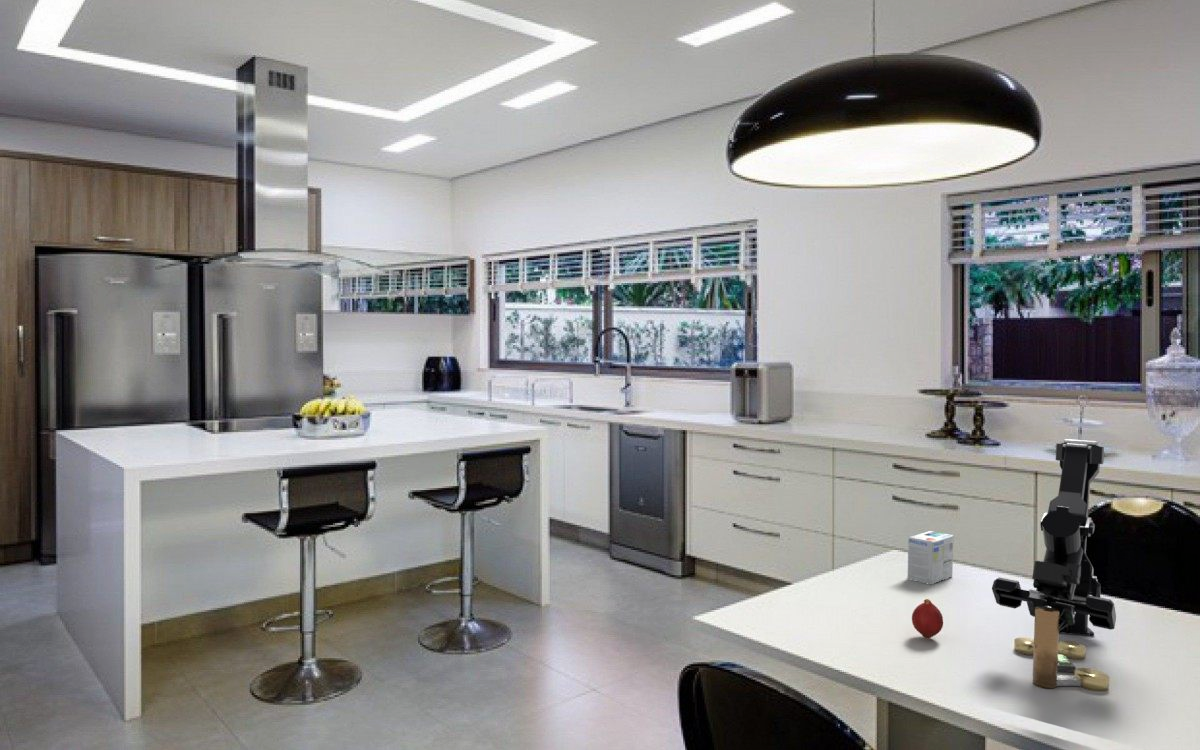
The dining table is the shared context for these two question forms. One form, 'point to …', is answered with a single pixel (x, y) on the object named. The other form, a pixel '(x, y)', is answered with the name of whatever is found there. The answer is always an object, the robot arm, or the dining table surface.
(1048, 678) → the knob lever
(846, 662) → the dining table surface
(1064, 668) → the tribrach plate
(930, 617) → the onion
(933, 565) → the light bulb box
